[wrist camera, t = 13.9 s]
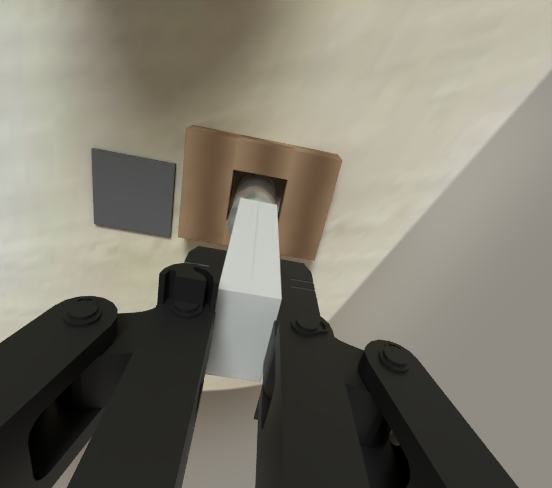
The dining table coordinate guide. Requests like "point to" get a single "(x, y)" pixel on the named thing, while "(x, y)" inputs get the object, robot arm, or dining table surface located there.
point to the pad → (133, 192)
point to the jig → (265, 161)
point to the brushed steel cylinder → (252, 193)
